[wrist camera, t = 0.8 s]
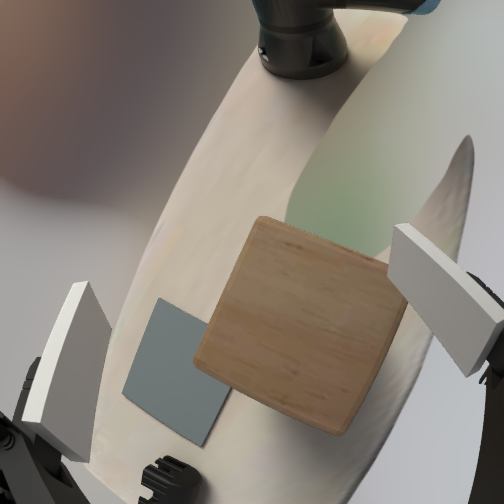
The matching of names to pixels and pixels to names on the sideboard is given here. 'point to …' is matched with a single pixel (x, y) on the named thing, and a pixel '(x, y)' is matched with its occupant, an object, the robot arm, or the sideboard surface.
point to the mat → (175, 375)
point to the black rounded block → (171, 482)
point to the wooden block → (302, 325)
